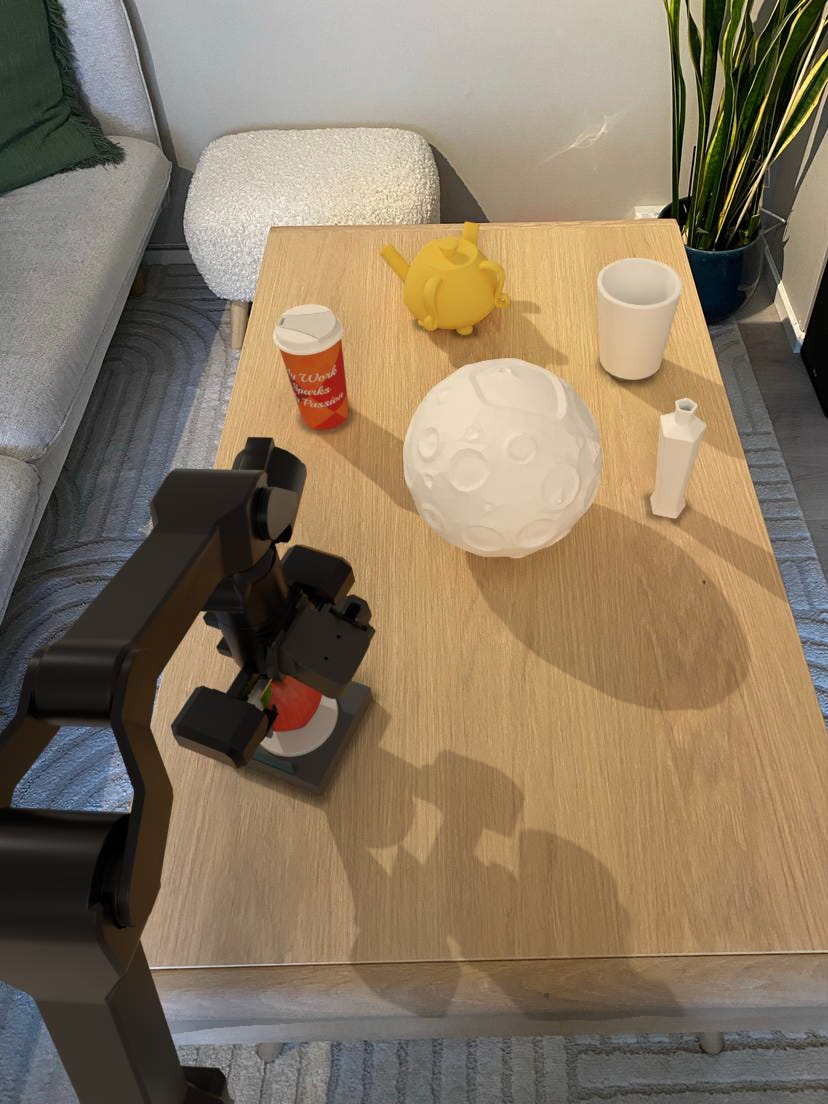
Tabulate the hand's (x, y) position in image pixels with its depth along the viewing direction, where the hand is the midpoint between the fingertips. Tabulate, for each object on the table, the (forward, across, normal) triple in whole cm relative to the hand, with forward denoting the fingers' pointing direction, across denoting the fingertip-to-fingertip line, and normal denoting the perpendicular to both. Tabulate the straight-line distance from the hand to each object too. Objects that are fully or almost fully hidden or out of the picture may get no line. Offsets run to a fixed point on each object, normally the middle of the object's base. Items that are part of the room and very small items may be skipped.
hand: (288, 698), depth 79 cm
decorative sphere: (+6, +29, -9) cm, 31 cm away
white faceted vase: (+6, +37, -25) cm, 45 cm away
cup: (+6, +58, -15) cm, 60 cm away
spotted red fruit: (+3, 0, 0) cm, 3 cm away
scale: (+6, 0, 0) cm, 6 cm away
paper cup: (+6, +37, +17) cm, 41 cm away
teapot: (+6, +61, +11) cm, 62 cm away
